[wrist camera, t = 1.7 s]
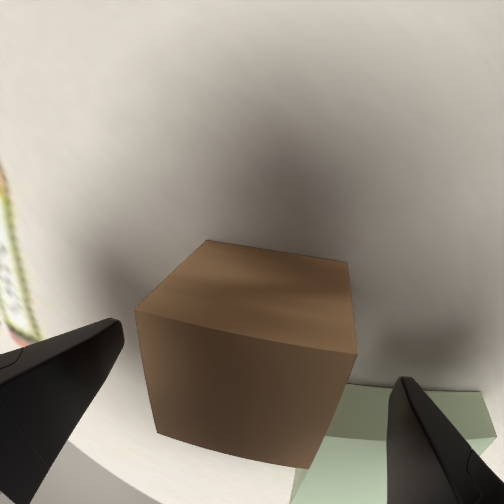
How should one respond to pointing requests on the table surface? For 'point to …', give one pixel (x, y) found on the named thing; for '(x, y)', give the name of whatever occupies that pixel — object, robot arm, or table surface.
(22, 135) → the table surface
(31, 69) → the table surface
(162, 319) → the walnut cube
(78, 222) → the table surface
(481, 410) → the platform
